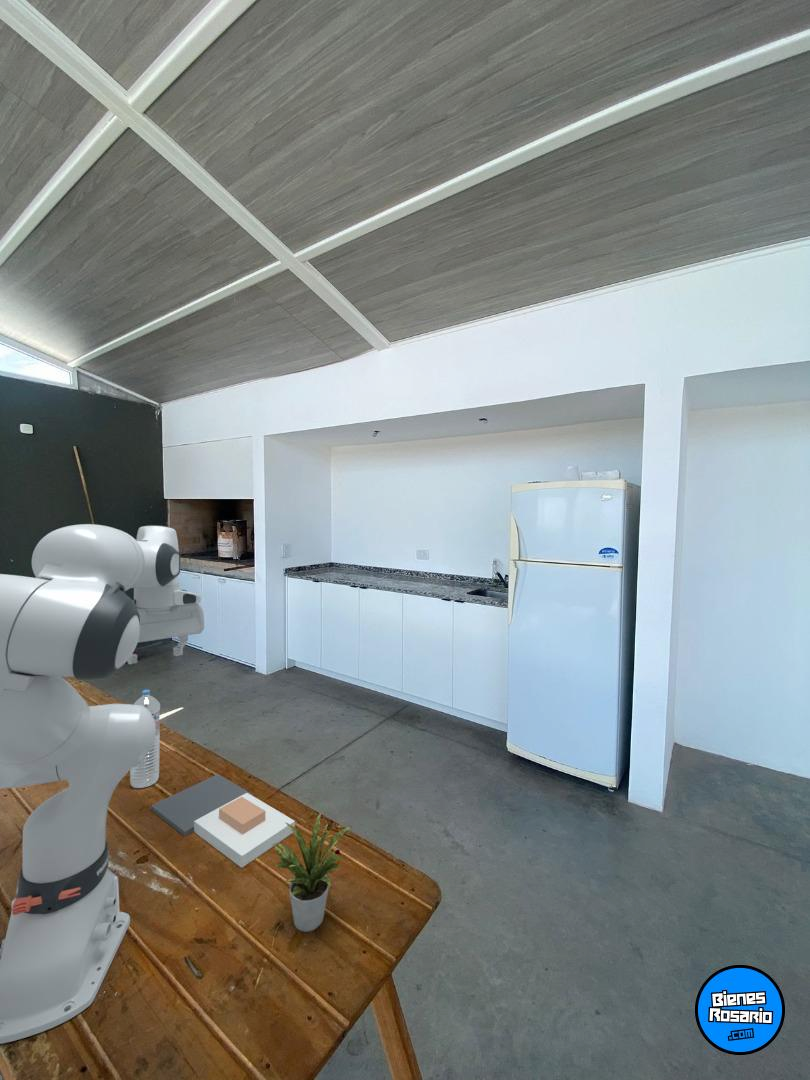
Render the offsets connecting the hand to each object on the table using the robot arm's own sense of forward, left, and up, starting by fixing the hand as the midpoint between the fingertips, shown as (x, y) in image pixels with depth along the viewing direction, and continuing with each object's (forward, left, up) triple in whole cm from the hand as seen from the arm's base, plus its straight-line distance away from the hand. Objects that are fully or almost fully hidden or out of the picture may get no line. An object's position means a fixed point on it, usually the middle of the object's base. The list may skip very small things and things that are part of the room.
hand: (155, 659), depth 101 cm
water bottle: (+23, +5, -40) cm, 46 cm away
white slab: (-7, -19, -40) cm, 45 cm away
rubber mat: (+8, -10, -40) cm, 42 cm away
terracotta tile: (-6, -19, -37) cm, 42 cm away
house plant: (-34, -30, -40) cm, 60 cm away
